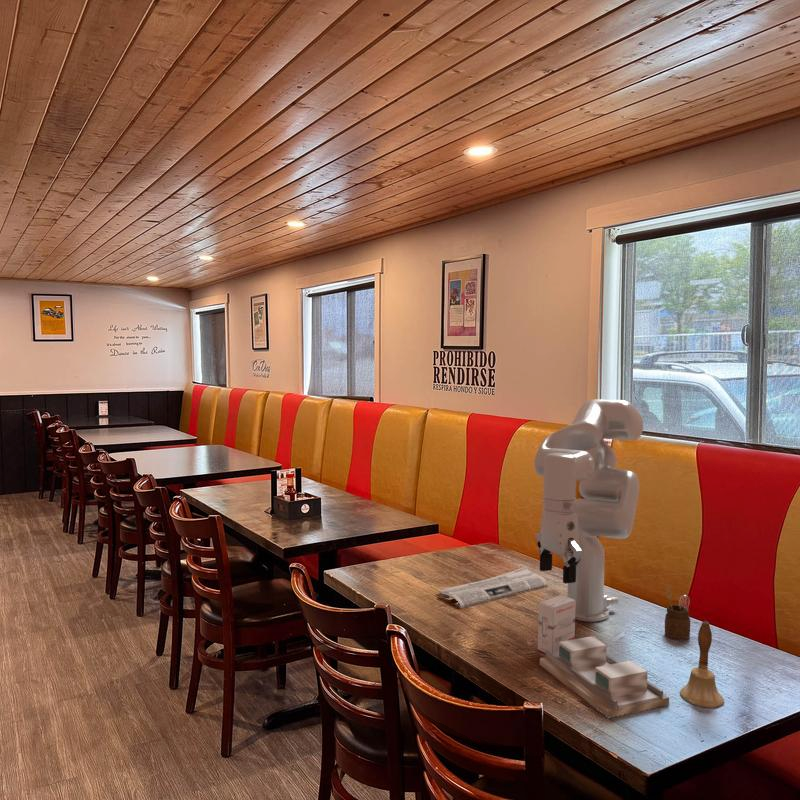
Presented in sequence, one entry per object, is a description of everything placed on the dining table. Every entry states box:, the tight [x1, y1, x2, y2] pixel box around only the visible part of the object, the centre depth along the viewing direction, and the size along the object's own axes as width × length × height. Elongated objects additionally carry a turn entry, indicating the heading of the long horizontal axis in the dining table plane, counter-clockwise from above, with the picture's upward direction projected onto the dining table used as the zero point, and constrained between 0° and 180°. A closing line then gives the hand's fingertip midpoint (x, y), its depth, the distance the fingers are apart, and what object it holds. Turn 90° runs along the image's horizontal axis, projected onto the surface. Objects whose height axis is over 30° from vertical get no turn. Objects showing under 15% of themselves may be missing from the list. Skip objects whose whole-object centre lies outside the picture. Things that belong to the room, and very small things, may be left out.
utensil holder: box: [664, 584, 691, 641], centre depth 166 cm, size 6×6×12 cm
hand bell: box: [679, 620, 725, 709], centre depth 135 cm, size 8×8×16 cm
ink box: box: [537, 595, 576, 654], centre depth 158 cm, size 9×5×12 cm, turn 128°
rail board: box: [539, 635, 670, 718], centre depth 141 cm, size 15×24×6 cm, turn 21°
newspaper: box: [438, 566, 549, 610], centre depth 198 cm, size 35×12×4 cm, turn 123°
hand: (557, 576), depth 157 cm, fingers open, 9 cm apart
